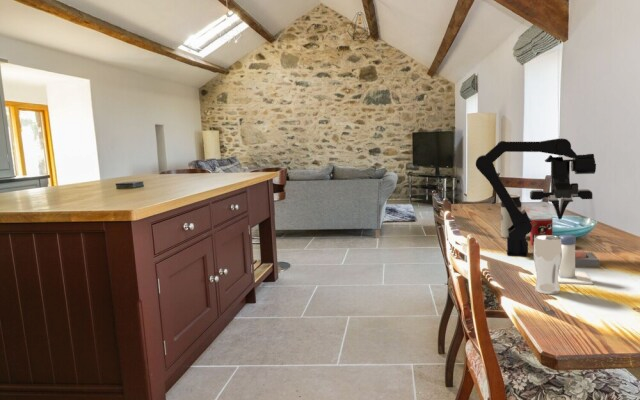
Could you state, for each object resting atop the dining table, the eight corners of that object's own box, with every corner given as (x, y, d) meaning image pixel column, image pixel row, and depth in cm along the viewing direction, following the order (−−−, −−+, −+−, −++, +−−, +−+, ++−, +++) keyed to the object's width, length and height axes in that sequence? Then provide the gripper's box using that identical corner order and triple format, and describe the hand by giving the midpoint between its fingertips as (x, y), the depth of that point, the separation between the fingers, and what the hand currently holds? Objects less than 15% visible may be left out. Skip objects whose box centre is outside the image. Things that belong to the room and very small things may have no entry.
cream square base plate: (549, 282, 129) (549, 280, 129) (544, 272, 139) (544, 270, 139) (592, 284, 125) (592, 282, 125) (584, 273, 136) (584, 271, 136)
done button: (571, 262, 146) (571, 253, 145) (569, 259, 150) (569, 250, 149) (587, 263, 144) (587, 253, 144) (584, 259, 148) (584, 250, 148)
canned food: (531, 246, 172) (531, 218, 171) (529, 242, 179) (529, 215, 178) (553, 247, 169) (553, 219, 168) (551, 242, 176) (551, 215, 175)
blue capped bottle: (558, 277, 132) (558, 237, 130) (560, 273, 135) (560, 234, 134) (574, 278, 129) (574, 238, 128) (576, 274, 133) (576, 235, 131)
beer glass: (550, 296, 118) (550, 241, 116) (527, 289, 124) (527, 237, 122) (567, 291, 121) (567, 237, 119) (544, 285, 127) (544, 233, 125)
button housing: (563, 266, 144) (563, 258, 144) (558, 258, 153) (558, 251, 153) (599, 267, 141) (599, 259, 140) (591, 259, 150) (591, 252, 150)
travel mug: (522, 235, 192) (522, 194, 190) (519, 239, 185) (519, 196, 183) (503, 234, 196) (502, 194, 194) (499, 238, 189) (499, 196, 187)
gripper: (533, 177, 150) (533, 223, 152) (596, 175, 144) (595, 223, 145) (529, 174, 160) (529, 217, 162) (588, 173, 154) (588, 217, 156)
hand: (559, 219), depth 156 cm, fingers closed
